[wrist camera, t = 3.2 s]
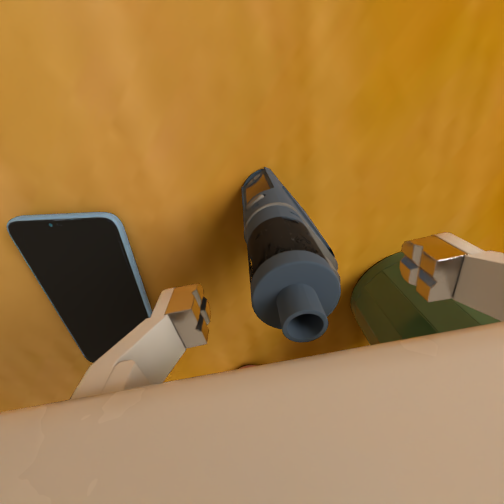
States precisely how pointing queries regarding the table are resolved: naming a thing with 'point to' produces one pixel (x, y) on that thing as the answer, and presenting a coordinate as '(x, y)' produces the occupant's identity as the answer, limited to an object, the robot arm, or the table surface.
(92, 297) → the smartphone
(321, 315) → the vaping device
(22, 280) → the table surface
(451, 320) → the pen cup
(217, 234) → the table surface
